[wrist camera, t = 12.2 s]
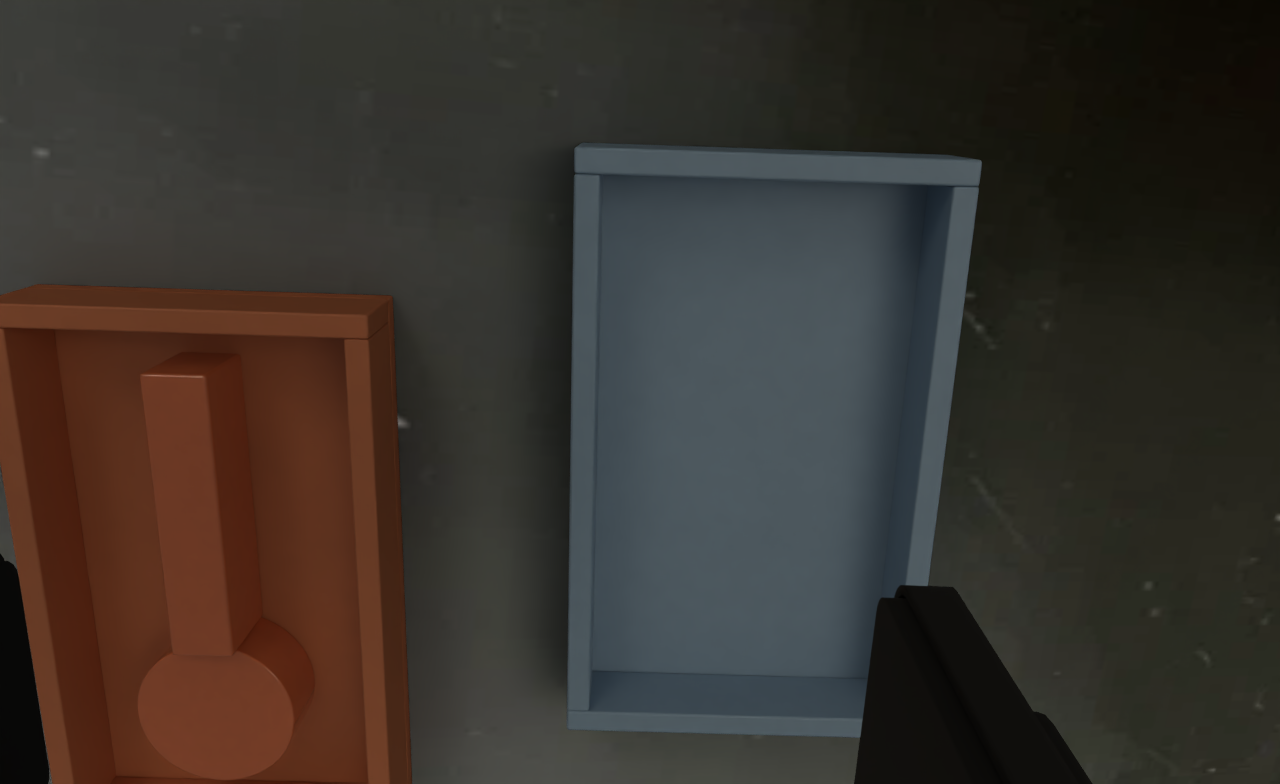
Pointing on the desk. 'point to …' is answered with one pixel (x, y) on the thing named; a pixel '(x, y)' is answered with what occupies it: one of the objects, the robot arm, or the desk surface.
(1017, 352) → the desk surface
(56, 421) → the terracotta tray
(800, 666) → the blue tray
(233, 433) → the terracotta spoon
